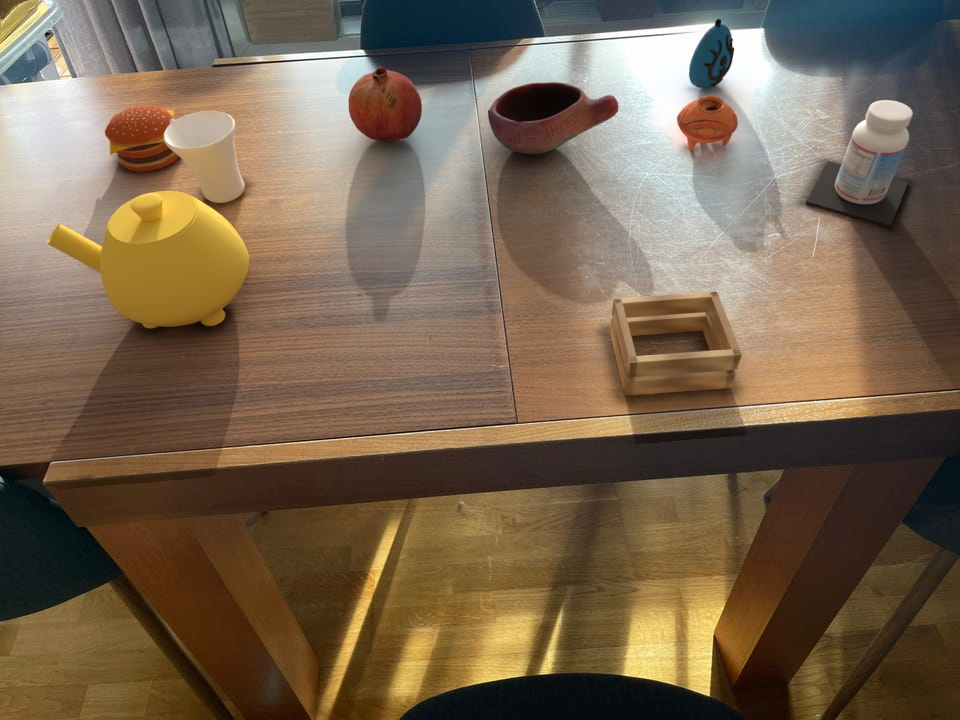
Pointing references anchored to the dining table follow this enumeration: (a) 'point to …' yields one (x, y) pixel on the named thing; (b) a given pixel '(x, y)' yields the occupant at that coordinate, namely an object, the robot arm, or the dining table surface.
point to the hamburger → (141, 138)
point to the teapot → (164, 260)
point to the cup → (208, 152)
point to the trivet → (875, 213)
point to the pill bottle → (874, 153)
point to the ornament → (712, 57)
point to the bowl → (546, 116)
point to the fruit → (385, 105)
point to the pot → (707, 121)
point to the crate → (678, 367)
